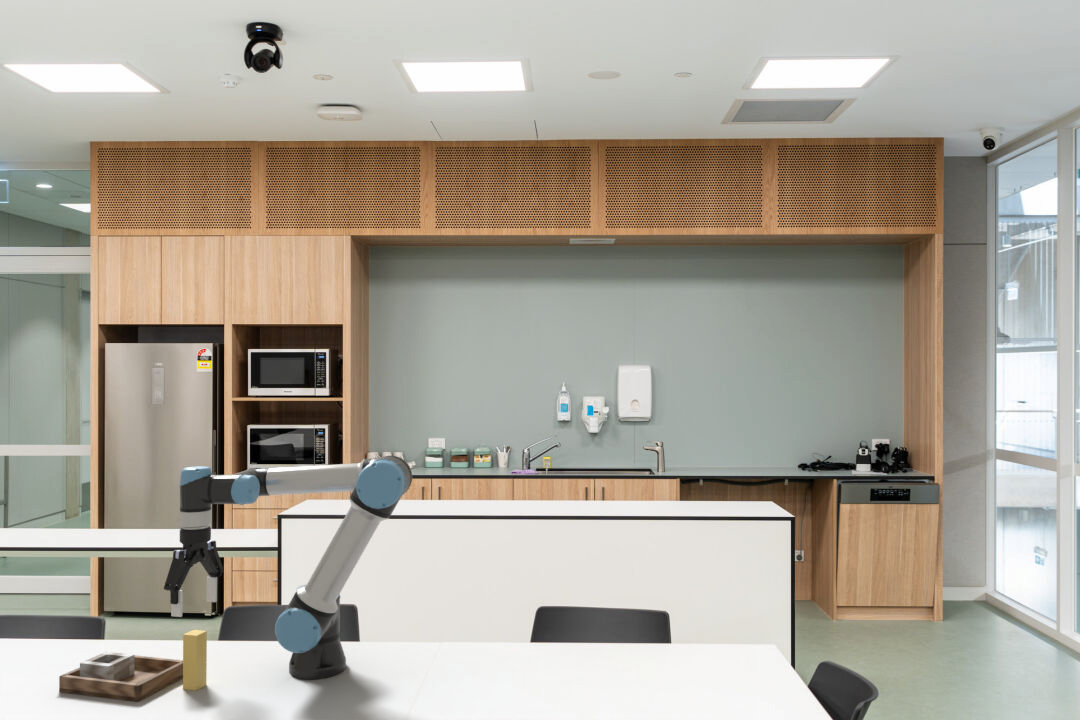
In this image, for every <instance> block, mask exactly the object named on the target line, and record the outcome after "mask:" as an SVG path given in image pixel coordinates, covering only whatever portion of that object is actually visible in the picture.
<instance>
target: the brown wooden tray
mask: <svg viewBox="0 0 1080 720" xmlns="http://www.w3.org/2000/svg"><path fill="white" fill-rule="evenodd" d="M180 680H183V659H182V660H181V659H172V658H163V657H155V656H154V657H153V656H145V655H136V654H132V653H122V652H112V651H105V652H102V653H100V654H98V655H95V656H93V657H90V658H89V659H86V660H83V661H81V662H80V663H79V667H78V668H75V669H73V670H70V671H68V672H65V673H63V674H61V675H60V676H59V677H58V681H59V682H58V683H59V685H58V687H59V689H58V690H59V691H58V692H59V693H63V694H73V695H79V696H88V697H95V698H102V699H103V698H104V699H112V700H120V701H128V702H135V703H136V702H137V703H139V702H141V701H143V700H145V699H146V698H149V697H150V696H153V695H154V694H156V693H158V692H160V691H161V690H163V689H166V688H167V687H169V686H171V685H173V684H175V683H176V682H178V681H180Z"/></svg>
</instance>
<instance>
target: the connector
mask: <svg viewBox="0 0 1080 720" xmlns="http://www.w3.org/2000/svg"><path fill="white" fill-rule="evenodd" d="M207 633H208V632H207V630H199V629H192V630H190V631H188V632H186V633H183V635H182V636H183V637H182V660H183V678H182V689H183V690H188V691H198V690H200V689H201V688H203V687H205V686H207V665H208V664H207V661H208V660H207V656H208V655H207V654H208V653H207V652H208V651H207V649H208V648H207V643H208V641H207Z"/></svg>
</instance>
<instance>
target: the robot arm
mask: <svg viewBox="0 0 1080 720" xmlns="http://www.w3.org/2000/svg"><path fill="white" fill-rule="evenodd" d="M179 479H180V481H179V526H180V527H181V528H180V529H179V542H180V544H181V545H182V549H174V550H173V552H172V560H171V563H170V567H169V569H168V573H167V575H166V580H165V582H164V586H163V590H165V591H167V592H168V591H169V592H170V593H169V594H170V598H169V599H170V605H171V607H170V609H171V611H170V614H171V615H170V616H171V617H176V618H178V617H179V618H182V617H183V597H184V596H183V592H184V591H183V590H182V586H183V584H184V582H185V580H186V578H187V575H188V574H189V571H190V569H191V568H192V567H193V566H194V565H197V564H198V563H200V564H201V566H202V567H203V569H204V570H205V572H206V573H207V575H208V576H206V588H205V589H206V594H205V595H206V597H205V598H206V601H205V602H208V603H217V602H218V581H219V580H218V579H219V578H218V577H222V574H223V573H224V566H223V564H222V560H221V557H220V555H219V551H218V549H217V541H216V540H212V528H211V526H210V525H211V524H212V505H216V504H217V505H240V506H243V505H252V504H254V503H256V502H257V500H258V498H259V497H267V496H268V497H269V496H280V495H283V496H284V495H301V494H321V493H325V494H326V493H339V492H340V493H341V492H342V493H343V492H347V493H348V492H351V494H350V495H349V499H348V500H349V502H350V507H349V509H348V510H347V513H346V514H345V516H344V517H343V520H342V522H341V523H340V524H339V527H338V528H337V530H336V532H335V534H334V535H333V537H332V540H331V541H330V543H329V544H328V547H326V549H325V552H324V553H323V555H322V557H321V558H320V561H319V562H318V564H317V566H316V567H315V570H314V571H313V573H312V574H311V577H310V578H309V579H308V582H307V584H304V585H300V586H298V587H297V588H296V590H295V593H294V595H293V596H292V597H291V600H290V601H289V604H288V605H287V607H285V610H283V612H281V613H280V614H279V616H278V617H277V620H276V622H275V626H274V634H275V636H276V637H275V638H276V640H277V642H278V644H279V645H280V646H281V647H282V648H283V649H284V650H286V651H288V652H290V653H292V654H291V656H290V660H289V665H288V672H289V674H290V676H292V677H294V678H298V679H303V680H316V679H319V680H320V679H325V678H329V677H334V676H337V675H339V674H341V673H342V672H344V671H345V670H346V668H347V657H346V655H345V651H344V649H343V645H342V643H341V639H340V633H341V632H340V630H341V629H340V628H341V626H340V624H341V623H340V622H341V621H340V619H341V616H340V615H341V613H340V611H341V605H340V604H341V592H342V591H343V589H344V587H345V585H346V584H347V582H348V580H349V579H350V576H351V574H352V573H353V571H354V569H355V568H356V566H357V564H358V563H359V560H360V558H361V557H362V555H363V553H364V551H365V550H366V548H367V546H368V544H369V543H370V541H371V539H372V538H373V535H374V533H375V532H376V530H377V528H378V526H379V525H380V524H381V522H382V521H386V520H389V519H390V517H391V516H392V514H393V512H394V511H395V509H396V507H397V505H398V504H399V501H400V500H401V498H402V496H403V495H405V493H407V491H408V490H409V489H410V487H411V486H412V482H413V472H412V469H411V467H410V465H409V463H408V462H407V461H406V460H404V459H403V458H402V457H399V456H396V455H386V456H381V457H374V458H363V459H362V460H361V461H360V462H358V463H356V462H355V463H339V464H337V463H335V464H322V465H321V464H320V465H301V466H284V467H282V466H281V467H269V468H267V467H265V468H264V467H263V468H262V467H250V468H248V469H246V470H244V471H243V470H242V471H240V472H237V473H234V474H213V472H212V468H211V467H210V466H203V465H202V466H201V465H198V466H189V467H188V466H187V467H184V468H182V470H181V471H180V478H179Z"/></svg>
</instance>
